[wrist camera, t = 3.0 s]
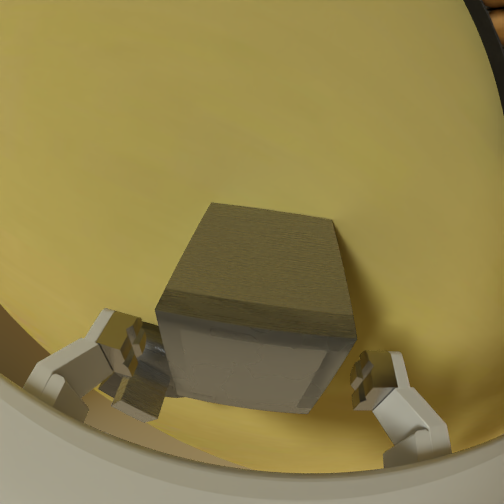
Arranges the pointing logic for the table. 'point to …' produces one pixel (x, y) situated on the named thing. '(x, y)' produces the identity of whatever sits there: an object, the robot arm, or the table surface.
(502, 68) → the ammunition clip
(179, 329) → the socket
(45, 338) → the table surface
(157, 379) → the ratchet
